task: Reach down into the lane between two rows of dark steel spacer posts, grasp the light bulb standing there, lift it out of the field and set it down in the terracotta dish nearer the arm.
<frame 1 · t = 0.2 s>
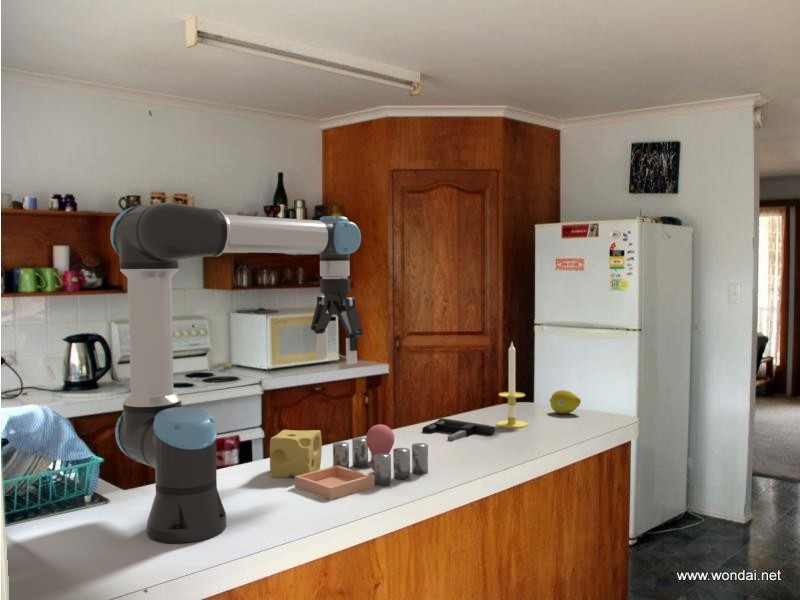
hand: (336, 361, 191), 27 cm above the counter, fingers open, 13 cm apart
cheese: (295, 473, 187), on the counter
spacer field: (380, 472, 188), on the counter
black submachine gun: (455, 436, 228), on the counter
light bulb: (380, 472, 188), on the counter
candle: (511, 425, 240), on the counter
dish: (334, 487, 175), on the counter
lemon: (564, 414, 256), on the counter
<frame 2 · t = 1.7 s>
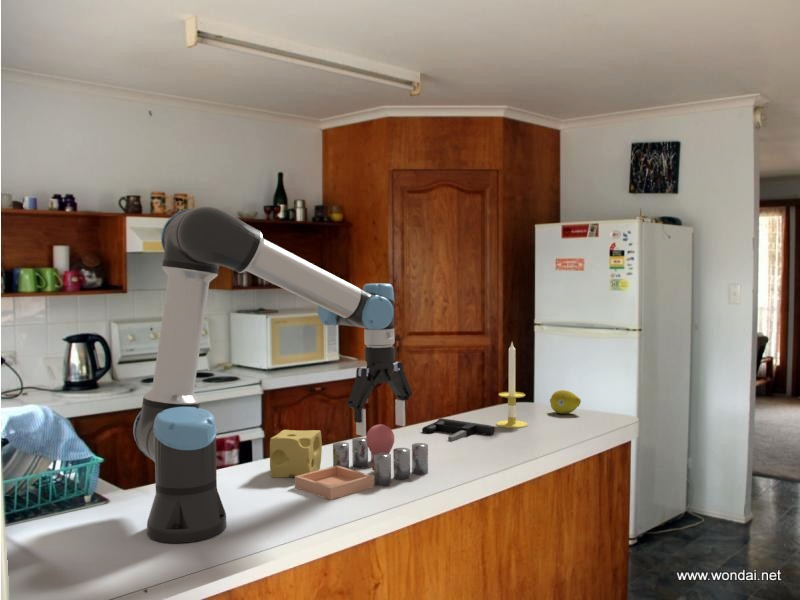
hand: (381, 430, 187), 11 cm above the counter, fingers open, 13 cm apart
nothing on the counter moved.
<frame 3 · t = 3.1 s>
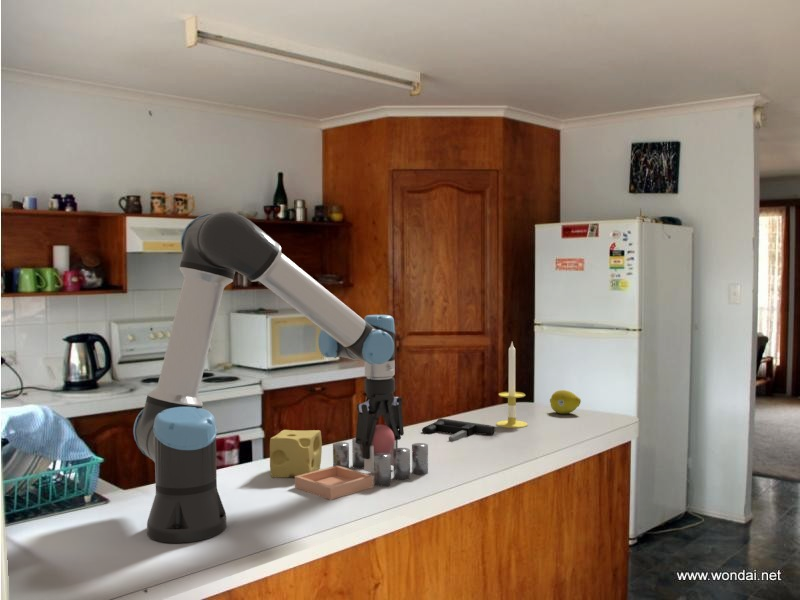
hand: (380, 467, 187), 1 cm above the counter, fingers closed on light bulb, 7 cm apart
light bulb: (380, 472, 188), on the counter, touching gripper
everything else where it was.
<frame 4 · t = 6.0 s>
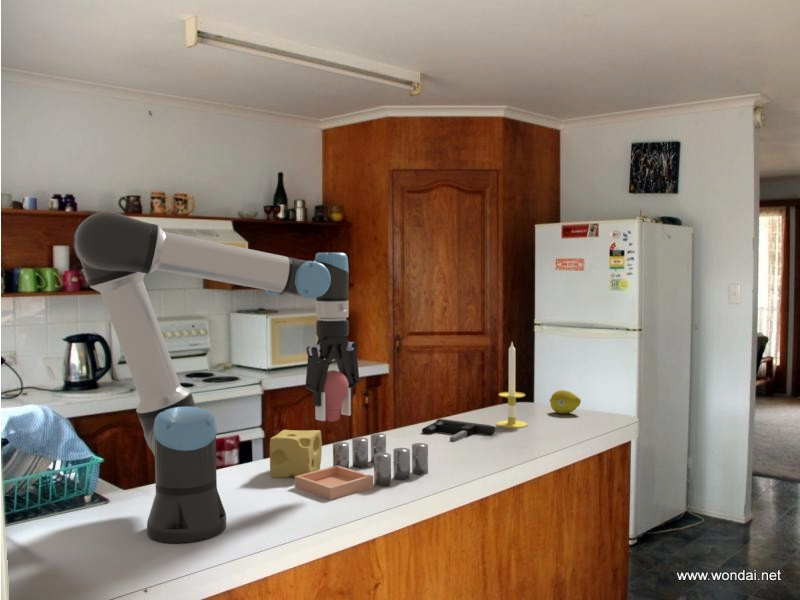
hand: (333, 417, 175), 17 cm above the counter, fingers closed on light bulb, 7 cm apart
light bulb: (333, 422, 175), point 15 cm above the counter, touching gripper
everything else where it was.
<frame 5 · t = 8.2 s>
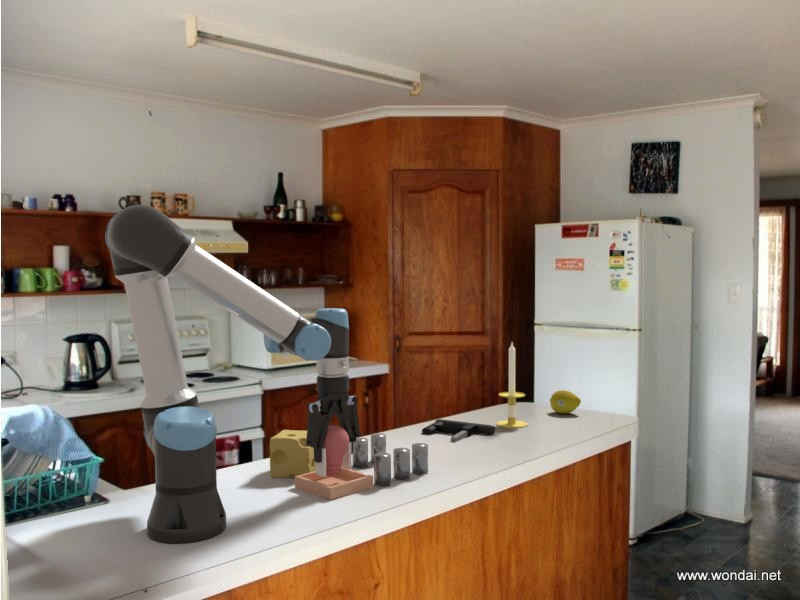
hand: (334, 471, 175), 4 cm above the counter, fingers closed on light bulb, 7 cm apart
light bulb: (334, 477, 175), point 2 cm above the counter, touching gripper
everything else where it was.
when the fingers open (3 cm above the counter, at t = 8.8 s): light bulb drops 1 cm, resting on dish.
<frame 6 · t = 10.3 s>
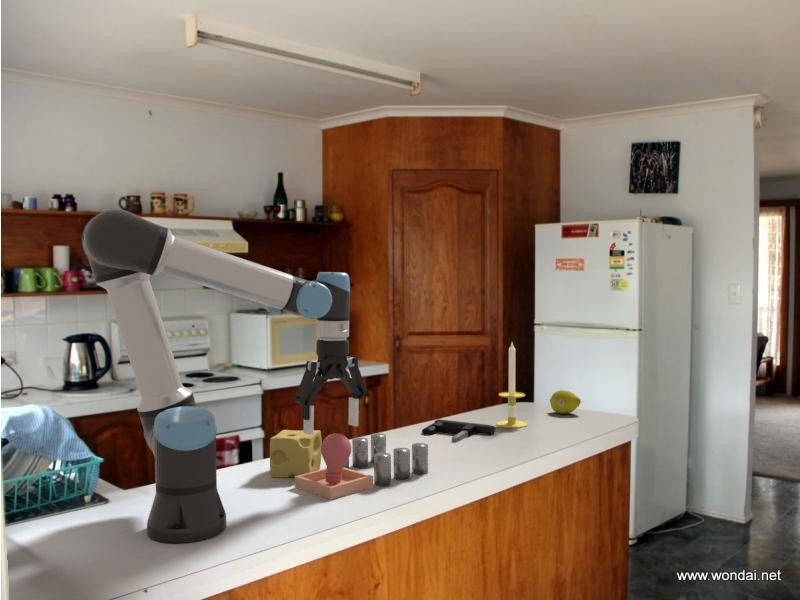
hand: (331, 429, 174), 14 cm above the counter, fingers open, 13 cm apart
light bulb: (334, 484, 175), resting on dish
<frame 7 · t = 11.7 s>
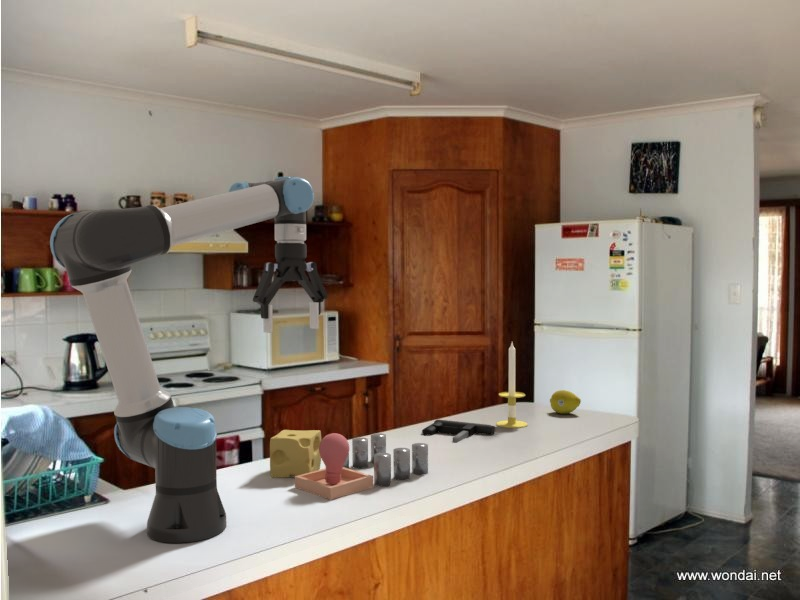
hand: (291, 330, 181), 36 cm above the counter, fingers open, 13 cm apart
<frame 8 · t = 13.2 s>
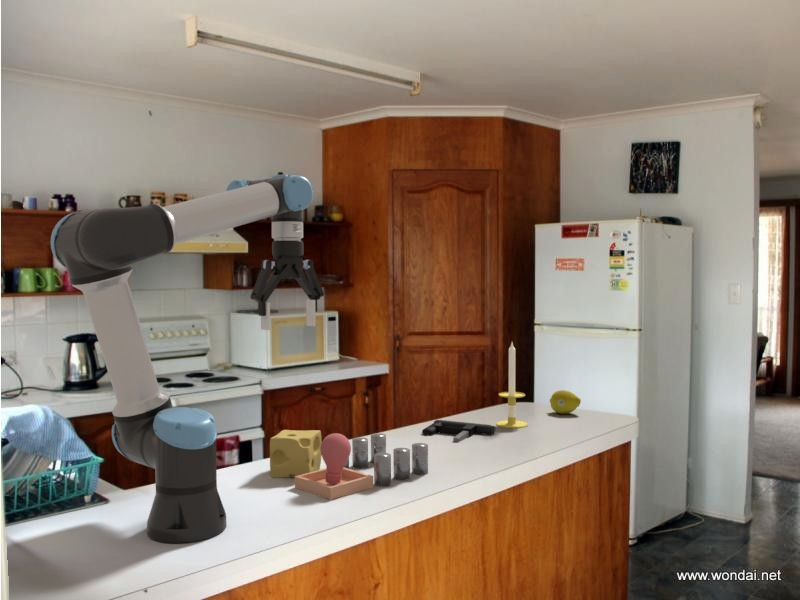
hand: (288, 327, 182), 37 cm above the counter, fingers open, 13 cm apart
at the end: light bulb inside the target area on the dish (0.1 cm from its centre), point 0.5 cm above the dish's base; the gripper is holding nothing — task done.
